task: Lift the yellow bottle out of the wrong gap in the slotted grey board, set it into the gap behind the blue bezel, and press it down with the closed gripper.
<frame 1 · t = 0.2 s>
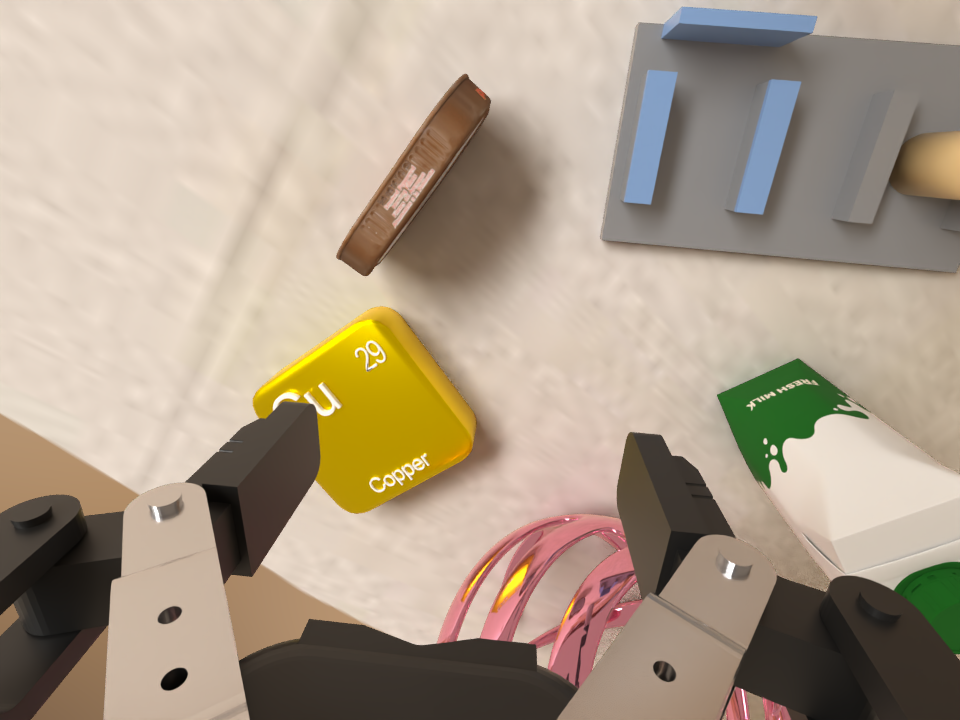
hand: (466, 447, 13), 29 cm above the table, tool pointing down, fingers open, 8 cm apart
element tile: (376, 402, 46), on the table
slotted grey board: (799, 155, 35), on the table
spiral basket: (593, 564, 51), on the table
tin: (424, 181, 38), on the table
milk carton: (769, 407, 43), on the table
yellow bottle: (920, 164, 34), point 1 cm above the table, touching slotted grey board
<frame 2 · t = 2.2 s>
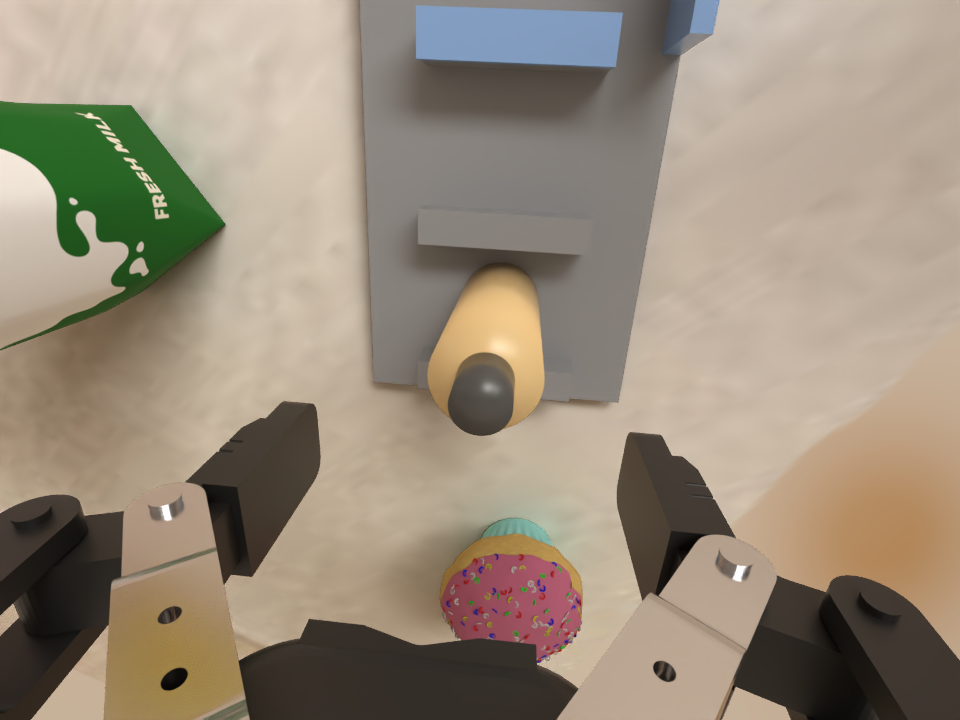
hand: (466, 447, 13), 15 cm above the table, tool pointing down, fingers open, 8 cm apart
slotted grey board: (511, 143, 24), on the table
cupcake: (513, 543, 34), on the table
milk carton: (141, 204, 27), on the table
yellow bottle: (500, 300, 26), point 1 cm above the table, touching slotted grey board
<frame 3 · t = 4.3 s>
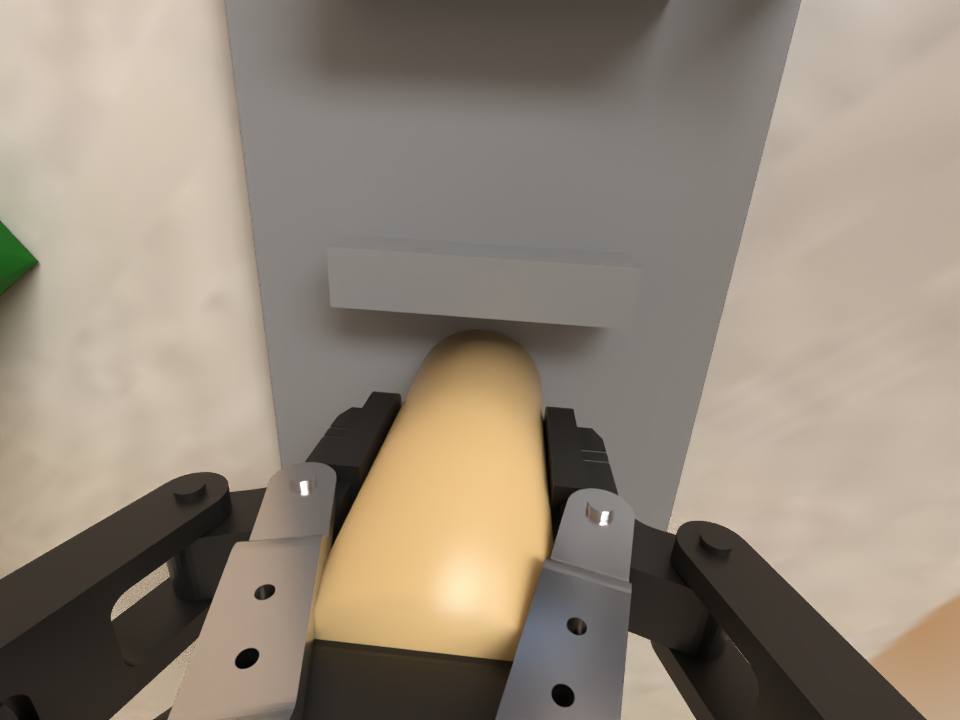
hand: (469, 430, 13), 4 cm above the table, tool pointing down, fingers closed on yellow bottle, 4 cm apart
slotted grey board: (495, 131, 14), on the table
yellow bottle: (479, 387, 16), point 1 cm above the table, touching slotted grey board, gripper
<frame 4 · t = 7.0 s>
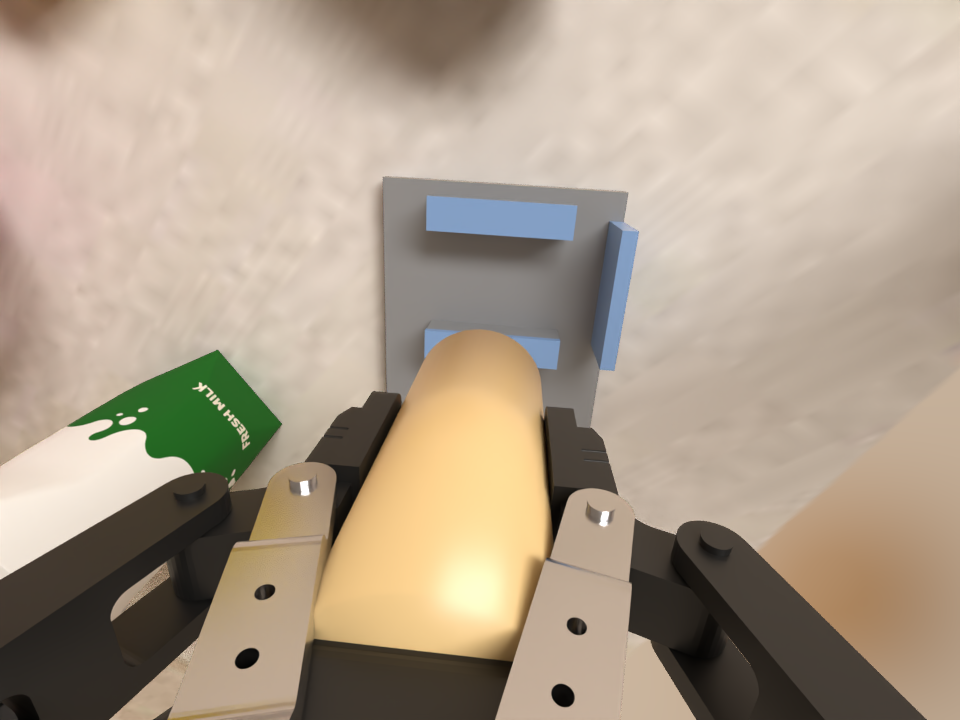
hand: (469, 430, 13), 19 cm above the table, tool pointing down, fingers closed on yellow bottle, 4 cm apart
slotted grey board: (490, 383, 34), on the table
milk carton: (219, 407, 37), on the table
yellow bottle: (479, 387, 16), point 16 cm above the table, touching gripper
when the fingers open (5 cm above the table, at t = 9.9 s): yellow bottle drops 1 cm, resting on slotted grey board.
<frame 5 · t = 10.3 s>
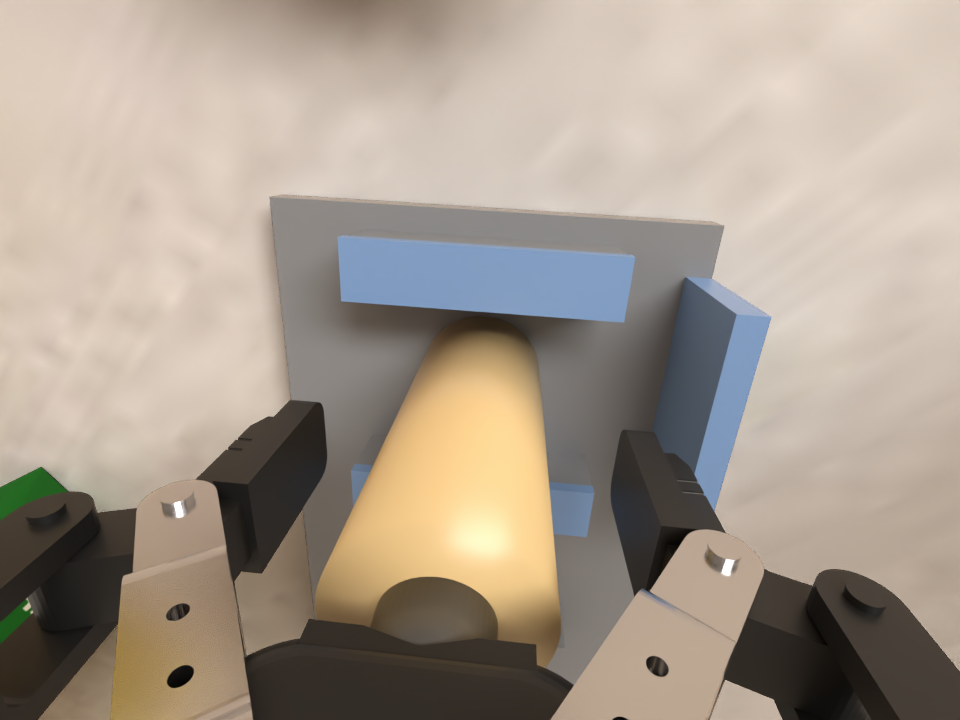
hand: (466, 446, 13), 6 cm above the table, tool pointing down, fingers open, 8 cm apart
slotted grey board: (473, 524, 21), on the table
milk carton: (60, 545, 24), on the table
yellow bottle: (481, 371, 17), point 1 cm above the table, touching slotted grey board
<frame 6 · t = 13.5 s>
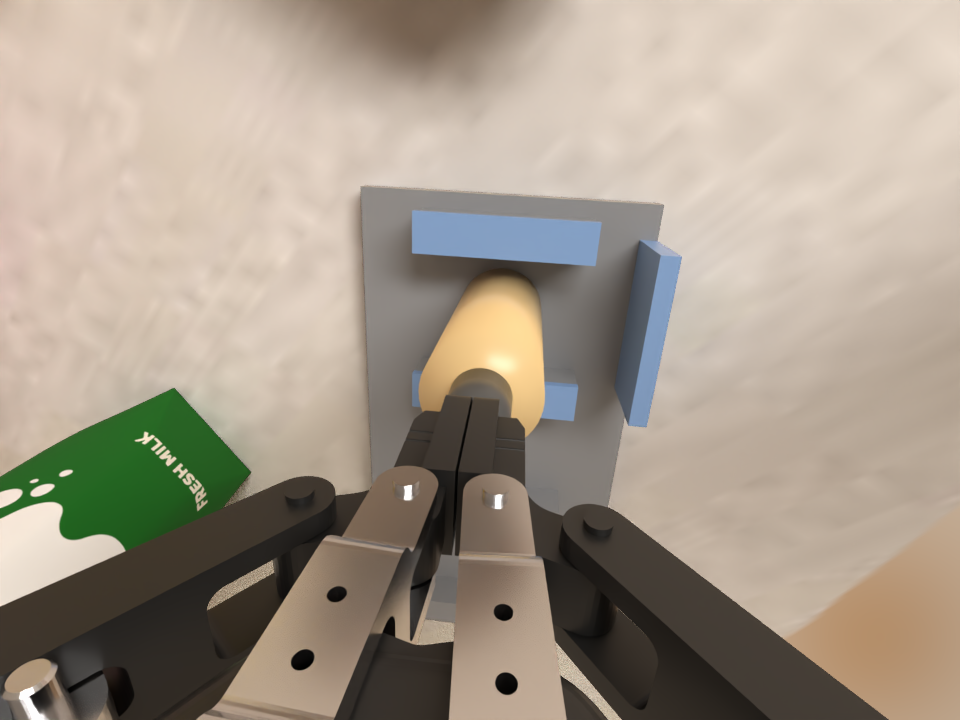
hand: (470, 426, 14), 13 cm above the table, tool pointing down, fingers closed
slotted grey board: (493, 429, 29), on the table
milk carton: (179, 452, 32), on the table
yellow bottle: (501, 308, 25), point 1 cm above the table, touching slotted grey board, gripper
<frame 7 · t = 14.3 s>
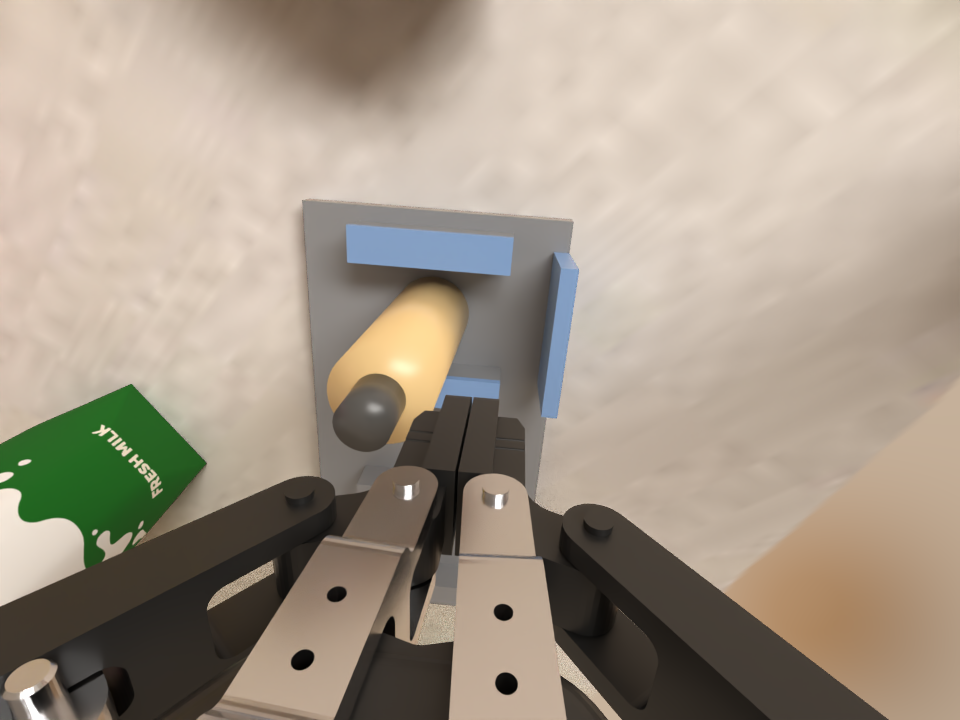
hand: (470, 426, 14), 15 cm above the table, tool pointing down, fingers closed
slotted grey board: (431, 422, 31), on the table
milk carton: (137, 445, 33), on the table
yellow bottle: (433, 312, 27), point 1 cm above the table, touching slotted grey board
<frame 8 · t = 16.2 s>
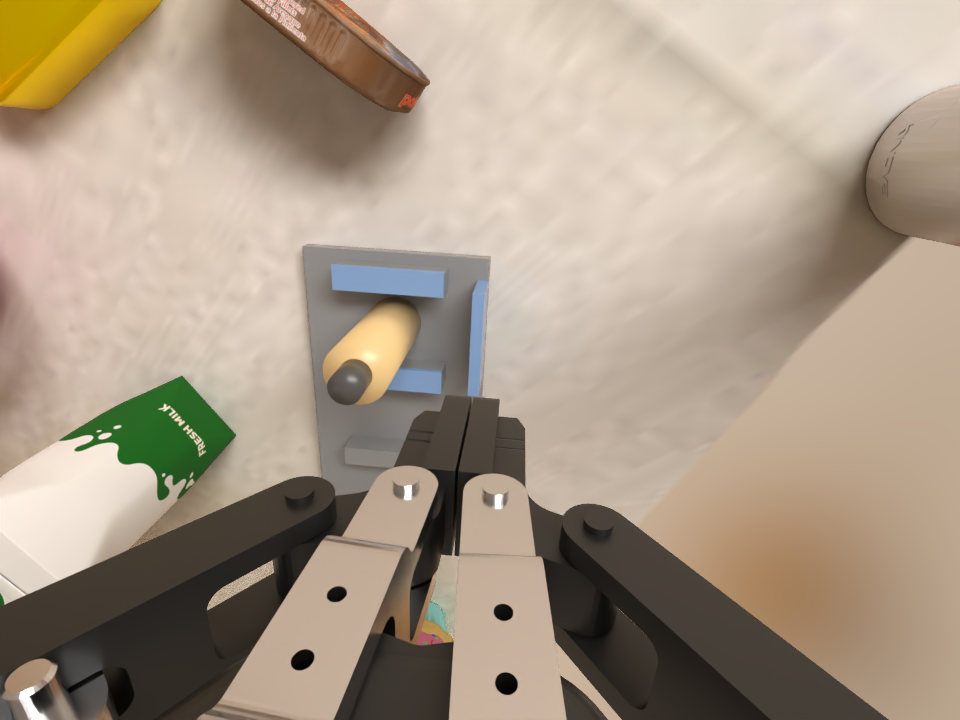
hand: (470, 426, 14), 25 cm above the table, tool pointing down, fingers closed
slotted grey board: (400, 402, 42), on the table
cupcake: (421, 613, 52), on the table
tin: (336, 30, 32), on the table
milk carton: (185, 422, 45), on the table
yellow bottle: (396, 322, 38), point 1 cm above the table, touching slotted grey board
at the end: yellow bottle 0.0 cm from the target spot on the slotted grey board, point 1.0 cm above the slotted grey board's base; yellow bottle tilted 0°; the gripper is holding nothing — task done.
